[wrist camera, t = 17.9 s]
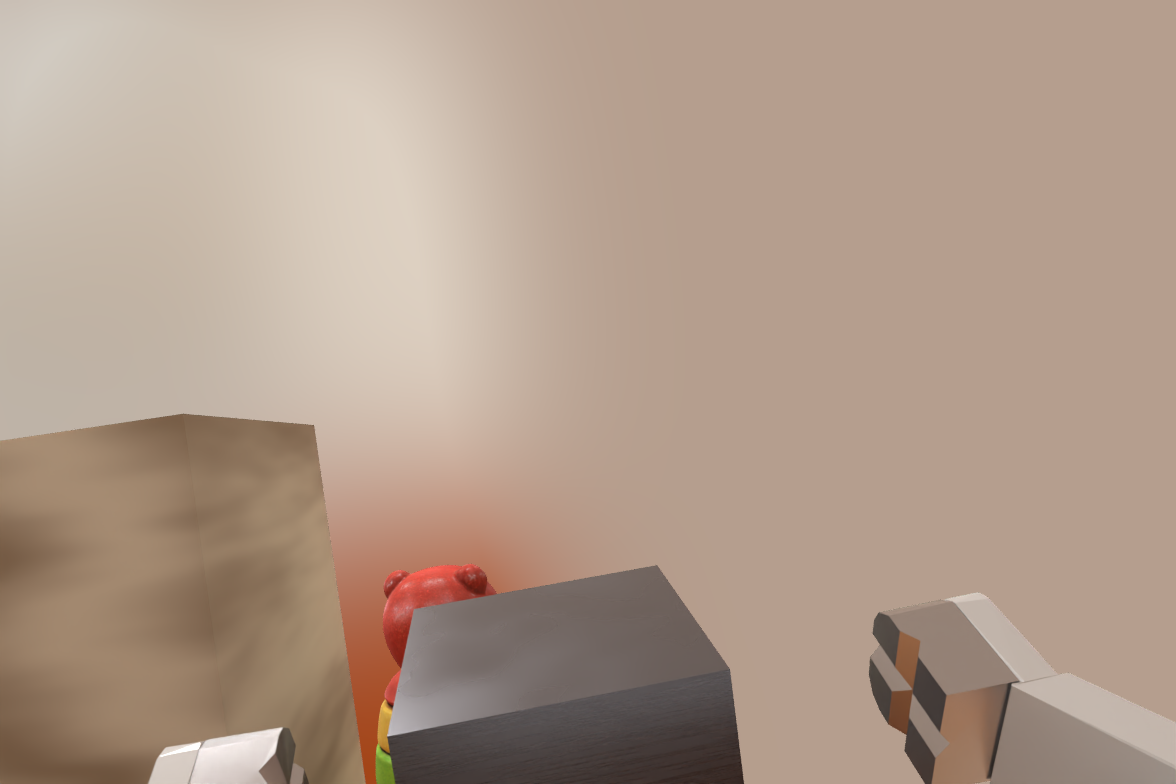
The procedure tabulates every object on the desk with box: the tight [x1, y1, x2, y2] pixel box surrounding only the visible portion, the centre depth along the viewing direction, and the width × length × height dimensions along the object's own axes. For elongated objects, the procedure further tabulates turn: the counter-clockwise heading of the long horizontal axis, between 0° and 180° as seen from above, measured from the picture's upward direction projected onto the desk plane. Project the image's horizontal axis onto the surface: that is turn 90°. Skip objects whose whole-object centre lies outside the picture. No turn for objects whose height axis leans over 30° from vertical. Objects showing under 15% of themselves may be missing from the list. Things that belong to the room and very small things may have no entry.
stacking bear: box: [376, 564, 497, 784], centre depth 48 cm, size 11×10×18 cm
